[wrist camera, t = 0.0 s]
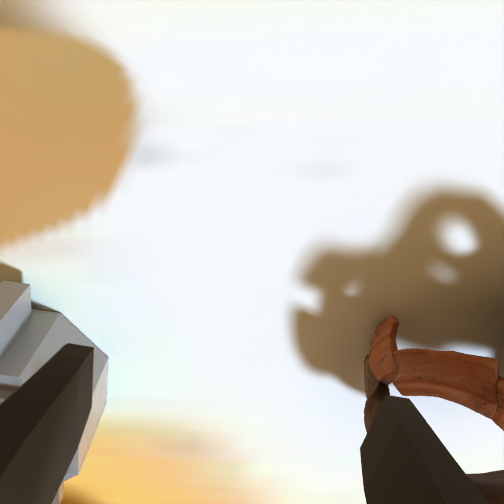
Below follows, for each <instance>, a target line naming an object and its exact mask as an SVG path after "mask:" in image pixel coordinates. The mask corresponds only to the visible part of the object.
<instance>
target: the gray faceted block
mask: <svg viewBox="0 0 504 504" xmlns="http://www.w3.org/2000/svg"><path fill="white" fill-rule="evenodd" d="M67 343H71V344H77V345H83V346H89V347H94V361H93V391H92V408H91V411H90V414H89V417H88V420H87V423H86V426H85V429H84V432H83V435H82V438H81V440H80V443H79V446H78V449H77V451H76V453H75V455H74V457H73V460H72V462H71V464H70V466H69V468H68V470H67V472H66V475H65V477H64V479H63V481H62V483H61V485H60V487H59V489H58V492H57V494H56V496H55V498H54V500H53V502H52V504H60V503H61V500H62V498H63V495H64V481H65V480H67V479H70V478H72V477H74V476H76V475H78V474H79V472H80V469H81V467H82V464H83V461H84V459H85V456H86V454H87V451H88V449H89V446H90V443H91V441H92V438H93V436H94V433H95V431H96V428H97V425H98V423H99V420H100V418H101V415H102V413H103V410H104V407H105V405H106V393H107V372H108V357H107V356H106V355H105V354H104V353H103V352H102V351H101V350H100V349H99V348H98V347H97V346H95V345H94V344H93V343H92V342H91V341H90V340H89V339H88V338H87V337H86V336H85V335H84V334H83V333H82V332H80V331H79V330H78V329H77V328H76V327H75V326H74V325H73V324H72V323H71V322H70V321H69V320H68V319H67V318H65V317H64V316H63V315H62V314H61V313H58V312H52V311H46V310H39V309H33V308H31V293H30V284H25V283H19V282H13V281H7V280H3V281H2V282H1V283H0V404H1V403H2V402H3V401H4V400H5V399H6V398H8V397H9V396H10V395H11V394H12V393H13V392H15V391H16V390H17V389H18V388H19V387H20V386H21V385H23V384H24V383H25V382H26V381H27V380H28V379H29V378H30V377H31V376H32V375H33V374H35V373H36V372H37V371H38V370H39V369H40V368H41V367H42V366H43V365H44V364H45V363H46V362H47V361H48V360H49V359H50V358H51V357H52V356H53V355H55V354H56V353H57V352H58V351H59V350H60V349H61V348H62V347H63V346H64V345H66V344H67Z"/></svg>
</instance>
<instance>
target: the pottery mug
mask: <svg viewBox="0 0 504 504" xmlns="http://www.w3.org/2000/svg"><path fill="white" fill-rule="evenodd" d="M398 325H399V321H398V319H397V318H396V317H394V316H390V317H389V318H387V319H386V320H385V321H384V322H383V323H382V324H381V325H379V326H378V328H377V330H376V332H375V336H374V338H373V339H372V340H371V348H370V351H369V354H368V355H366V357H365V360H364V382H365V392H366V397H367V400H366V404H365V409H364V423H365V428H366V431H367V433H368V431H369V429H370V427H371V424H372V422H373V420H374V418H375V416H376V414H377V412H378V410H379V408H380V406H381V403H382V401H383V399H384V397H385V395H390V392H389V387H388V385H389V384H390V383H392V382H393V384H394V386H395V387H396V388H397V389H398V391H399V392H400V394H402V395H403V396H433V397H439V398H443V399H446V400H449V401H452V402H455V403H458V404H460V405H463V406H465V407H467V408H470V409H471V410H473V411H475V412H477V413H480V414H482V415H484V416H485V417H487V418H490V419H492V420H493V421H494V423H495V424H497V425H498V426H499V427H500V428H501V429H502V430H503V431H504V378H501V377H500V376H499V370H498V366H499V365H498V360H496V359H493V358H489V357H481V356H476V355H469V354H464V353H459V352H455V351H434V350H428V349H413V348H412V349H402V350H398V349H397V344H396V333H397V328H398ZM466 475H467V476H468V478H469V479H470V480H471V481H472V483H473V484H474V485H475V486H476V488H477V489H478V490H479V491H480V493H481V494H482V495H483V496H484V498H485V499H486V500H487V501H488V502H489V504H504V470H500V471H493V472H488V473H480V474H466Z"/></svg>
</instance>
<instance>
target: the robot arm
mask: <svg viewBox="0 0 504 504" xmlns="http://www.w3.org/2000/svg"><path fill="white" fill-rule="evenodd" d="M93 361H94V347H89V346H83V345H77V344H71V343H67V344H66V345H64V346H63V347H62V348H61V349H60V350H59V351H58V352H57V353H56V354H55V355H53V356H52V357H51V358H50V359H49V360H48V361H47V362H46V363H45V364H44V365H43V366H42V367H41V368H40V369H39V370H38V371H37V372H36V373H35V374H33V375H32V376H31V377H30V378H29V379H28V380H27V381H26V382H25V383H24V384H23V385H21V386H20V387H19V388H18V389H17V390H16V391H15V392H13V393H12V394H11V395H10V396H9V397H8V398H6V399H5V400H4V401H3V402H2V403H1V404H0V504H52V502H53V500H54V498H55V496H56V494H57V492H58V489H59V487H60V485H61V483H62V481H63V479H64V477H65V475H66V472H67V470H68V468H69V466H70V464H71V462H72V460H73V457H74V455H75V453H76V451H77V449H78V446H79V443H80V440H81V438H82V435H83V432H84V429H85V426H86V423H87V420H88V417H89V414H90V411H91V408H92V391H93ZM360 453H361V465H362V476H363V485H364V492H365V497H366V502H367V504H489V502H488V501H487V500H486V499H485V498H484V496H483V495H482V494H481V493H480V491H479V490H478V489H477V488H476V486H475V485H474V484H473V483H472V481H471V480H470V479H469V478H468V476H467V475H466V474H465V472H464V471H463V470H462V469H461V467H460V466H459V465H458V463H457V462H456V461H455V459H454V458H453V457H452V455H451V454H450V453H449V452H448V450H447V449H446V447H445V446H444V445H443V443H442V442H441V441H440V439H439V438H438V437H437V435H436V434H435V433H434V431H433V430H432V429H431V427H430V426H429V425H428V423H427V422H426V420H425V419H424V418H423V416H422V415H421V414H420V412H419V411H418V410H417V408H416V407H415V406H414V404H413V403H412V402H411V400H410V399H408V398H402V397H396V396H390V395H385V397H384V399H383V401H382V403H381V406H380V408H379V410H378V412H377V414H376V416H375V418H374V420H373V422H372V424H371V427H370V429H369V431H368V433H367V435H366V437H365V439H364V441H363V443H362V445H361V447H360Z"/></svg>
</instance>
